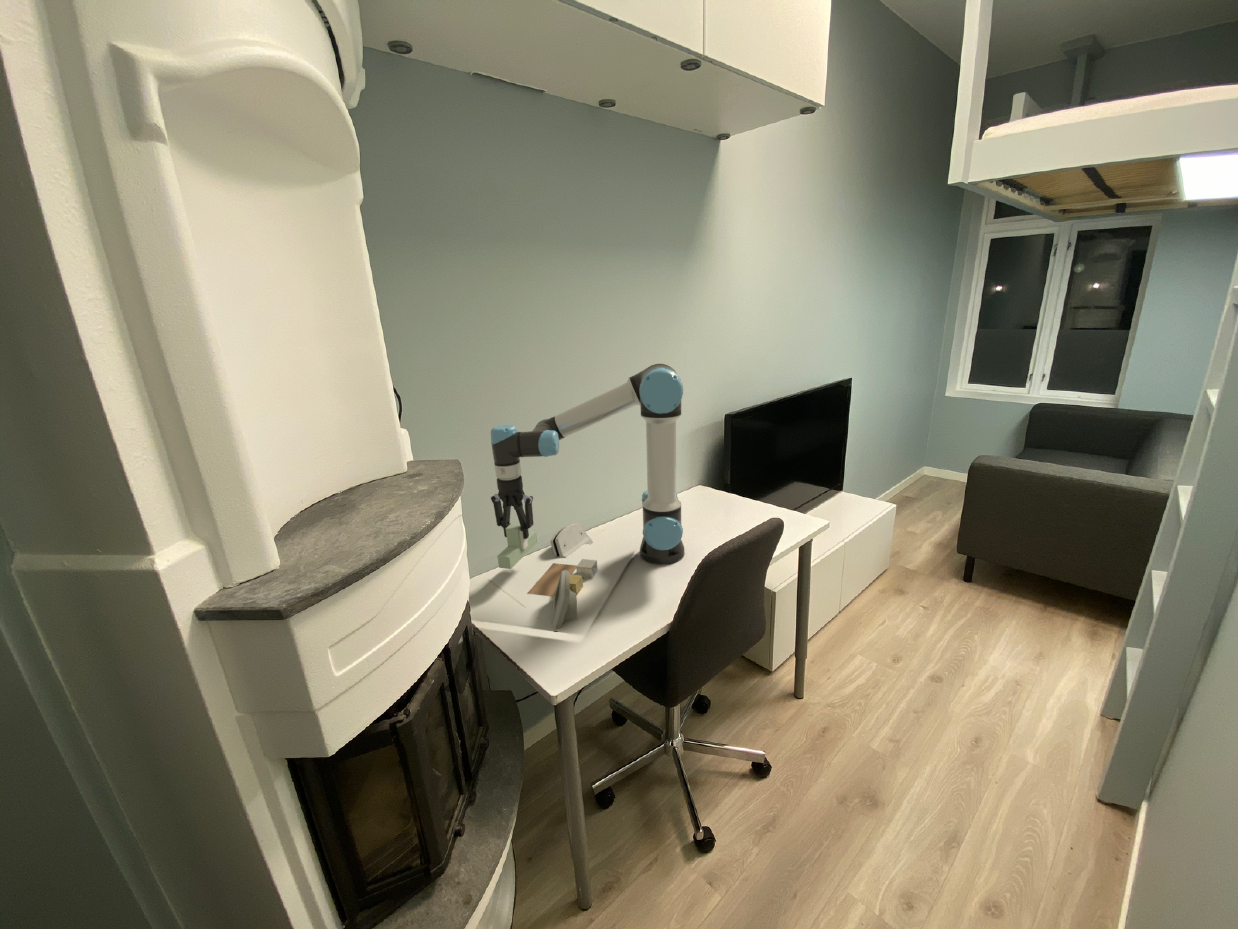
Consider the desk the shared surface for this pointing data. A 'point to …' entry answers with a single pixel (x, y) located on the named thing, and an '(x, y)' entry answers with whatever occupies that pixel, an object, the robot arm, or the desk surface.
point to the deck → (550, 579)
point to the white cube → (587, 568)
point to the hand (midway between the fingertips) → (518, 546)
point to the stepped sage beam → (515, 546)
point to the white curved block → (569, 540)
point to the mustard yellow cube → (576, 583)
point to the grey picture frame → (563, 602)
